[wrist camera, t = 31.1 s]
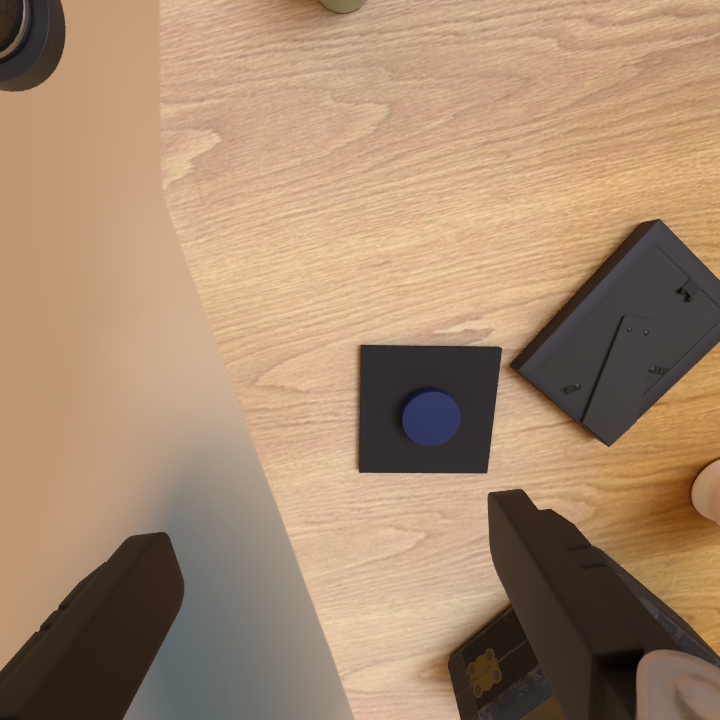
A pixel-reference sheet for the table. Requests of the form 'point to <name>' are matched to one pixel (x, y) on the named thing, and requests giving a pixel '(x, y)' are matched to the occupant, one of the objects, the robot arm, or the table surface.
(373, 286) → the table surface
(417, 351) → the mat
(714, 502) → the jar
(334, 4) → the spice jar
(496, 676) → the cash box
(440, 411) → the lid
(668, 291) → the picture frame
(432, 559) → the table surface
